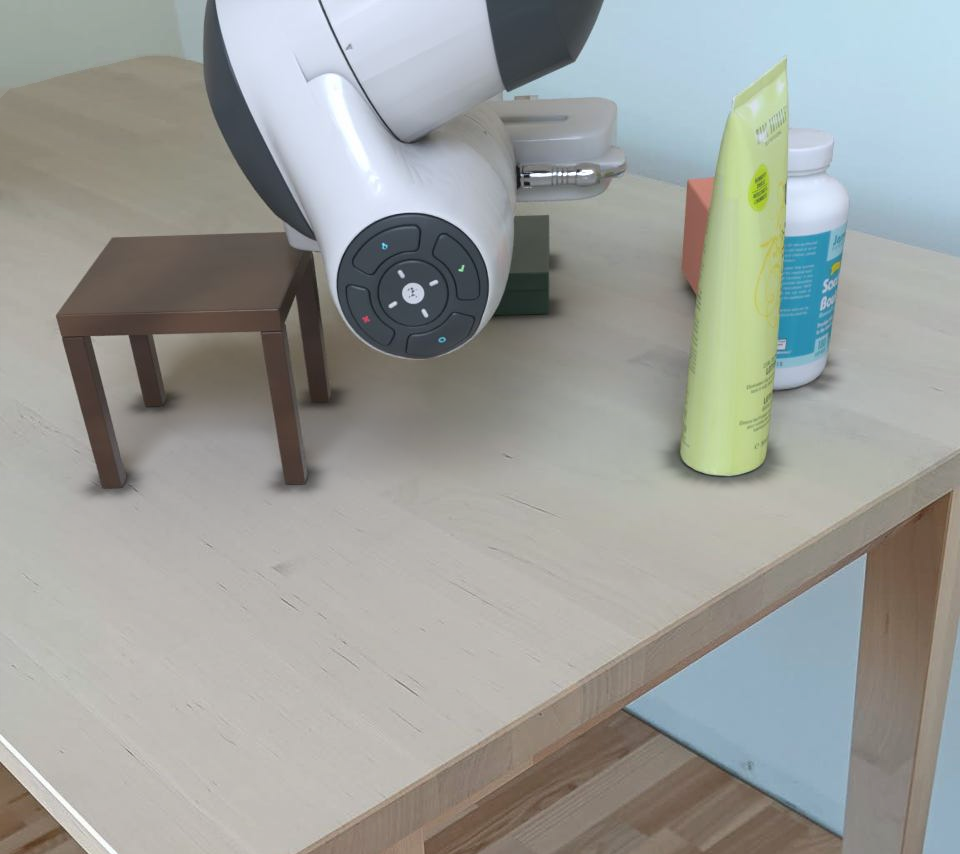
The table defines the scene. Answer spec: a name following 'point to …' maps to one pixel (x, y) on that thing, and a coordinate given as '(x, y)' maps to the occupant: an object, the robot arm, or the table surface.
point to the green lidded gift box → (528, 268)
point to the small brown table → (195, 323)
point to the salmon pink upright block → (695, 227)
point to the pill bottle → (809, 258)
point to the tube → (740, 286)
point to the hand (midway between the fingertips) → (450, 112)
